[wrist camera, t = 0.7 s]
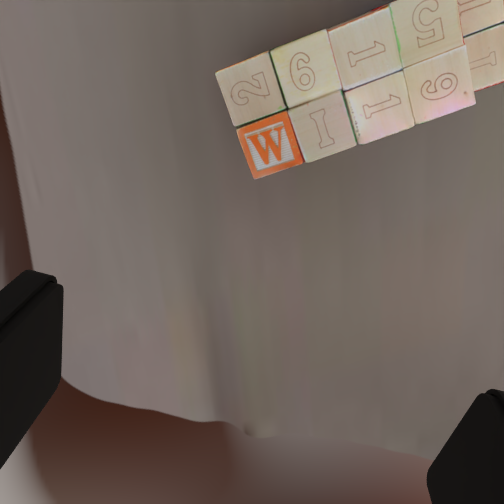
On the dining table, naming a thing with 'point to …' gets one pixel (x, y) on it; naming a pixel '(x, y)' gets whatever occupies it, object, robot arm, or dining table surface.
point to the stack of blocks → (363, 79)
